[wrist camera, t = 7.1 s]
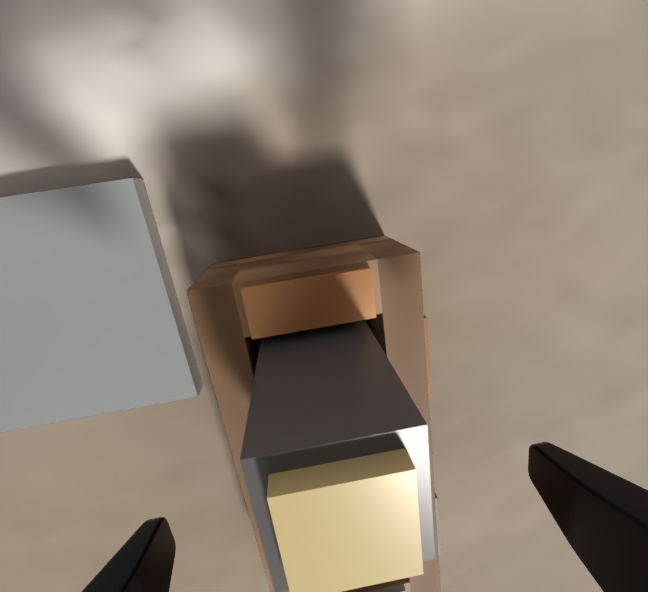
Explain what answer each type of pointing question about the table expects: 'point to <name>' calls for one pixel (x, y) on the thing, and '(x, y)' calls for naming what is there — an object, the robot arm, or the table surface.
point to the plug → (336, 463)
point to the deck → (87, 307)
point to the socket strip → (309, 313)
